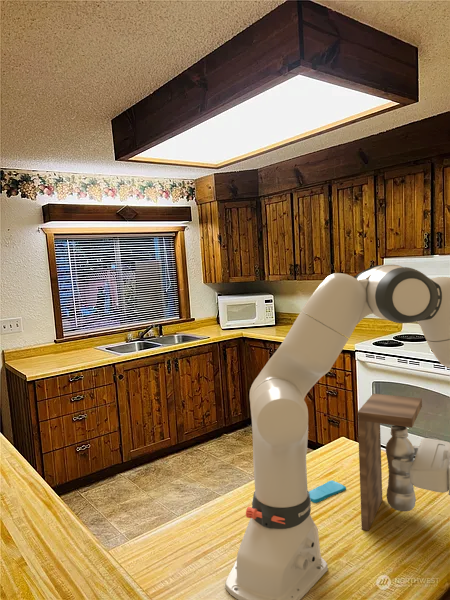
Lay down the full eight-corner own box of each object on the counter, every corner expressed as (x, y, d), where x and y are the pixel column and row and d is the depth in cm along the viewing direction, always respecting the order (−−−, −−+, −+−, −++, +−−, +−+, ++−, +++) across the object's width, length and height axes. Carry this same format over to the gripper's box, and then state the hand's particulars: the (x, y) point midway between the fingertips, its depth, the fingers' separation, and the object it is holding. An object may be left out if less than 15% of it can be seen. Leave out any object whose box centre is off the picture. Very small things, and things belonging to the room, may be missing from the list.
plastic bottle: (397, 497, 113) (394, 420, 112) (422, 508, 108) (419, 427, 106) (381, 506, 110) (378, 427, 108) (405, 518, 104) (403, 435, 102)
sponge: (299, 492, 121) (313, 498, 116) (331, 479, 128) (346, 484, 123) (299, 498, 121) (314, 504, 116) (332, 484, 128) (347, 490, 123)
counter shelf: (414, 542, 98) (411, 418, 96) (361, 529, 104) (357, 411, 102) (424, 508, 111) (421, 398, 109) (376, 498, 117) (373, 393, 115)
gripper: (463, 436, 109) (403, 428, 117) (456, 472, 92) (386, 460, 99) (463, 461, 110) (403, 452, 117) (457, 501, 93) (387, 487, 100)
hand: (395, 456), depth 108 cm, fingers closed on plastic bottle, 6 cm apart
